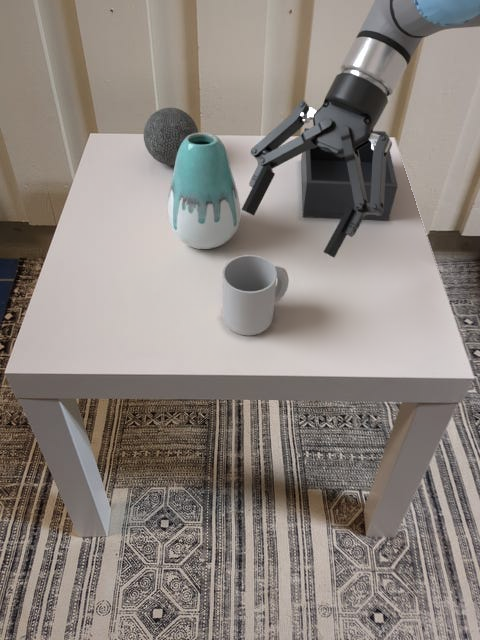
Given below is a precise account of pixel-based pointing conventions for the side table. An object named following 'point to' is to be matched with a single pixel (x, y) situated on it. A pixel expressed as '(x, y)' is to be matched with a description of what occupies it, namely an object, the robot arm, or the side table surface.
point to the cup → (251, 293)
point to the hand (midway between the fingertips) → (286, 233)
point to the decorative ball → (167, 133)
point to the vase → (203, 193)
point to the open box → (340, 183)
